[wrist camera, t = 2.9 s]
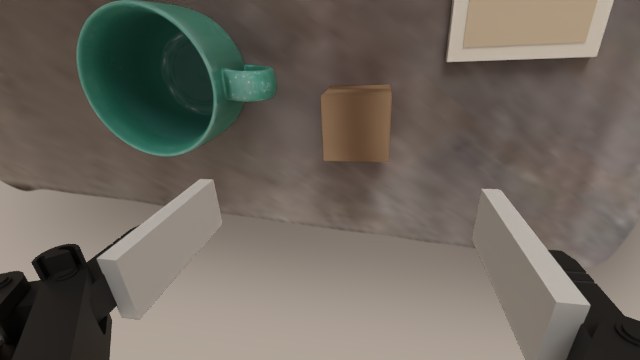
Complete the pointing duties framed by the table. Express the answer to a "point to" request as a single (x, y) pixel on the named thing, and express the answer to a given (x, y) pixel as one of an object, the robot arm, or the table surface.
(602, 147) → the table surface
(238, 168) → the table surface
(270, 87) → the mug
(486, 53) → the coaster
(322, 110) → the walnut cube
